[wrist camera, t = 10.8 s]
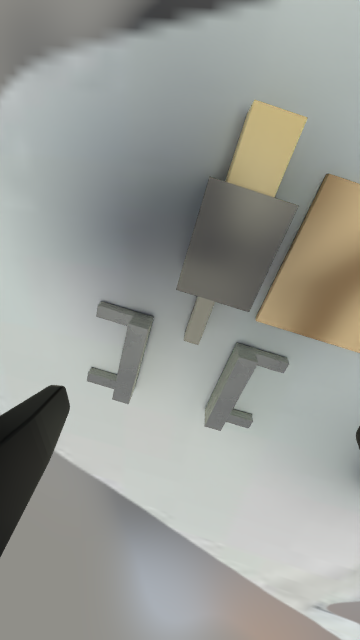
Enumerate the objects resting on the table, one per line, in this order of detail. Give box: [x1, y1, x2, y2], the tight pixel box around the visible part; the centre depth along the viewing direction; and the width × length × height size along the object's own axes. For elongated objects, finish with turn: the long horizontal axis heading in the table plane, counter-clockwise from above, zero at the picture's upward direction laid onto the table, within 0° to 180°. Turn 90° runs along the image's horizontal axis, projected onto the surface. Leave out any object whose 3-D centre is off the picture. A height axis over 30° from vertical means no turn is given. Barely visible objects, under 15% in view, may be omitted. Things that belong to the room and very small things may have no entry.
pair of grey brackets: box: [87, 302, 289, 431], centre depth 22 cm, size 16×8×2 cm, turn 74°
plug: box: [176, 100, 307, 345], centre depth 16 cm, size 4×14×4 cm, turn 164°
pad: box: [255, 174, 360, 353], centre depth 17 cm, size 10×10×1 cm
